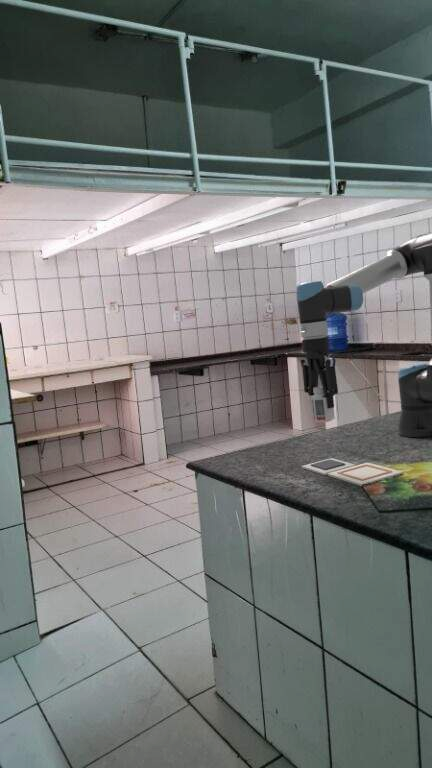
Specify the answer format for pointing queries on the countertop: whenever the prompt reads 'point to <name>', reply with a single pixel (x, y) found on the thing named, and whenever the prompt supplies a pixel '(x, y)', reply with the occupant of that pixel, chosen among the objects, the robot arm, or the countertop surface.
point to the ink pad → (327, 466)
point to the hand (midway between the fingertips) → (323, 418)
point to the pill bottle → (318, 405)
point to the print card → (364, 473)
